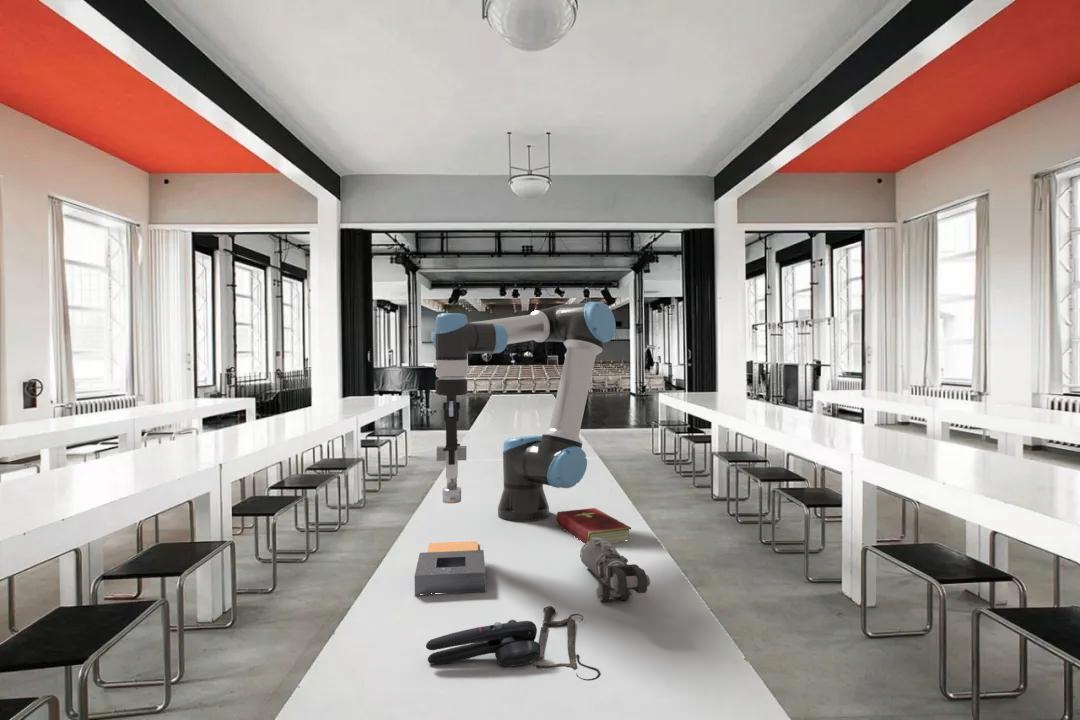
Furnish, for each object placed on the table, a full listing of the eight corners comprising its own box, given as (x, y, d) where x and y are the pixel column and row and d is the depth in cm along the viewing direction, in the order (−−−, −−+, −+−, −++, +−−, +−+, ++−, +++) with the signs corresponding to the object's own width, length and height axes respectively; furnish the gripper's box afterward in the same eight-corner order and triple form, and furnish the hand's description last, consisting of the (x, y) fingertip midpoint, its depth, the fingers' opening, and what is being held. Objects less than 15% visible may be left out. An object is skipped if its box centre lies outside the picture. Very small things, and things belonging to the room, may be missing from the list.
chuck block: (483, 567, 138) (483, 549, 137) (485, 592, 124) (485, 572, 124) (419, 570, 136) (419, 552, 136) (414, 595, 122) (414, 575, 122)
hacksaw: (542, 610, 115) (542, 603, 115) (597, 613, 114) (598, 605, 114) (530, 685, 91) (531, 676, 91) (600, 689, 90) (600, 679, 90)
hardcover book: (588, 548, 152) (588, 531, 152) (556, 526, 172) (556, 511, 171) (631, 543, 156) (631, 526, 156) (595, 521, 176) (595, 506, 176)
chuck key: (466, 498, 150) (466, 445, 150) (466, 503, 146) (466, 448, 145) (437, 499, 149) (437, 445, 149) (436, 503, 145) (436, 448, 144)
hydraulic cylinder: (615, 620, 105) (613, 560, 107) (574, 578, 141) (573, 533, 143) (657, 618, 106) (654, 558, 108) (605, 576, 142) (604, 531, 144)
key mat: (477, 544, 154) (477, 541, 154) (478, 560, 142) (478, 556, 142) (429, 546, 153) (429, 543, 153) (426, 562, 141) (425, 559, 141)
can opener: (537, 645, 101) (536, 611, 101) (542, 667, 94) (541, 630, 94) (427, 652, 99) (427, 617, 99) (424, 675, 92) (424, 637, 92)
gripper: (437, 377, 154) (437, 470, 155) (433, 379, 138) (434, 483, 139) (467, 376, 155) (467, 469, 156) (467, 379, 139) (467, 482, 140)
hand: (451, 476), depth 147 cm, fingers closed on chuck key, 3 cm apart
